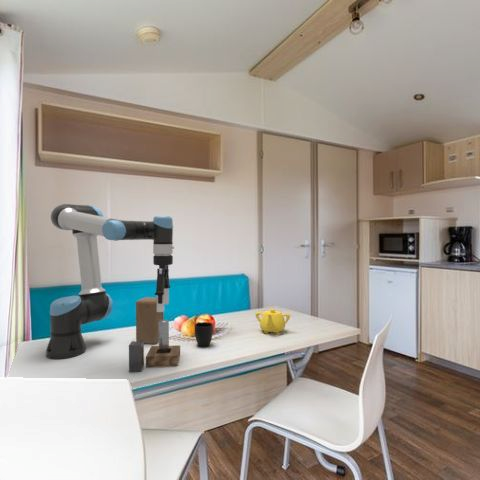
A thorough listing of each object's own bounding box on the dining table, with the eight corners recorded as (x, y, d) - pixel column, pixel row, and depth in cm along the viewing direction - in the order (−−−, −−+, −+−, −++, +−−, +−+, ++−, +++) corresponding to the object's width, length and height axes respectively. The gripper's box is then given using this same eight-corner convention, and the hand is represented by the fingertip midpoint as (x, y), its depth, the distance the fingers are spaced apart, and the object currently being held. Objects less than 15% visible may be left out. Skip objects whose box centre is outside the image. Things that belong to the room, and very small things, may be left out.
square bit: (129, 372, 124) (128, 345, 124) (131, 367, 128) (131, 341, 128) (141, 371, 124) (141, 345, 124) (143, 367, 129) (143, 341, 129)
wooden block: (155, 344, 154) (154, 301, 154) (135, 343, 156) (134, 300, 156) (164, 338, 164) (164, 297, 164) (145, 337, 166) (145, 296, 166)
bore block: (145, 367, 129) (145, 356, 129) (151, 355, 141) (151, 346, 140) (177, 365, 130) (177, 355, 130) (180, 354, 142) (180, 345, 141)
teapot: (252, 331, 176) (252, 308, 176) (274, 326, 183) (274, 305, 183) (269, 337, 164) (269, 313, 164) (291, 333, 172) (291, 310, 172)
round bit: (158, 362, 133) (157, 322, 133) (159, 358, 137) (159, 319, 137) (168, 362, 133) (168, 322, 133) (169, 358, 137) (169, 319, 137)
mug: (207, 339, 162) (207, 319, 162) (215, 346, 151) (215, 325, 151) (190, 341, 159) (190, 321, 159) (197, 349, 148) (197, 327, 148)
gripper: (168, 257, 122) (168, 315, 123) (175, 252, 147) (175, 301, 147) (147, 257, 121) (147, 315, 122) (158, 252, 146) (158, 301, 147)
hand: (163, 307), depth 135 cm, fingers open, 13 cm apart
